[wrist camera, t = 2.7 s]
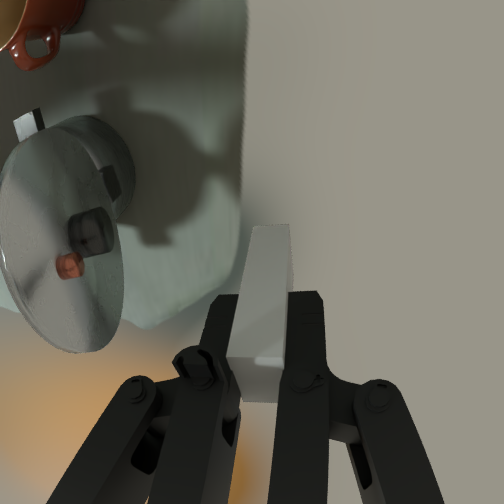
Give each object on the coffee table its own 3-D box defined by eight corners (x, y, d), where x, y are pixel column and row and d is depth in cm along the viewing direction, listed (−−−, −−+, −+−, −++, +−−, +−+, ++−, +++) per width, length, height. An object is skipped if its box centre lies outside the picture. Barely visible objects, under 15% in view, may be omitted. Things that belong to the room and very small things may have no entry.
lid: (94, 399, 16) (134, 396, 16) (-49, 186, 8) (-7, 160, 8) (125, 260, 29) (153, 253, 29) (72, 113, 20) (104, 101, 20)
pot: (73, 240, 39) (44, 277, 33) (26, 117, 28) (-18, 139, 22) (164, 231, 36) (138, 274, 30) (119, 76, 25) (73, 89, 19)
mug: (30, 4, 19) (-33, 10, 11) (84, -41, 16) (21, -52, 8) (57, 78, 25) (-8, 100, 17) (114, 38, 23) (49, 43, 15)
